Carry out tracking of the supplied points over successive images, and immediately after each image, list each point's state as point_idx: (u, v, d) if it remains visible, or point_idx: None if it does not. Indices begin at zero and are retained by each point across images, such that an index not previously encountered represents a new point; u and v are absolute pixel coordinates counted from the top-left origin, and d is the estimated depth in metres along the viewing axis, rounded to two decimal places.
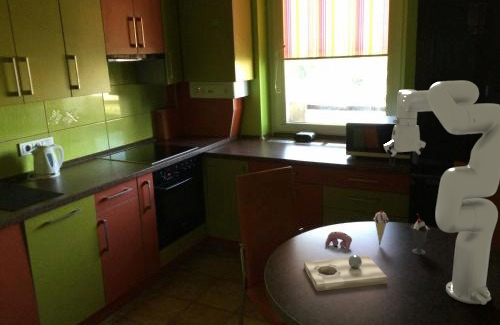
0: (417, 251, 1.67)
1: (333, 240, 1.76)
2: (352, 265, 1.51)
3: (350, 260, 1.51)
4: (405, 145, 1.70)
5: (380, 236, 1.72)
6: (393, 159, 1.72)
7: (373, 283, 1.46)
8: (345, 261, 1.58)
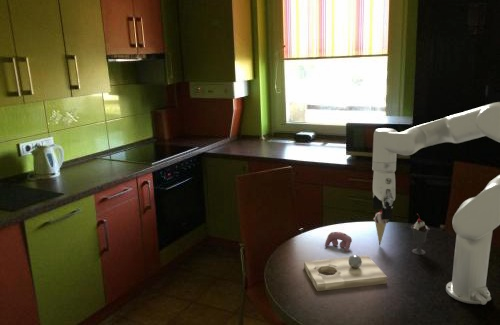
0: (417, 251, 1.67)
1: (333, 240, 1.76)
2: (352, 265, 1.51)
3: (350, 260, 1.51)
4: None
5: (380, 236, 1.72)
6: (390, 211, 1.45)
7: (373, 283, 1.46)
8: (345, 261, 1.58)
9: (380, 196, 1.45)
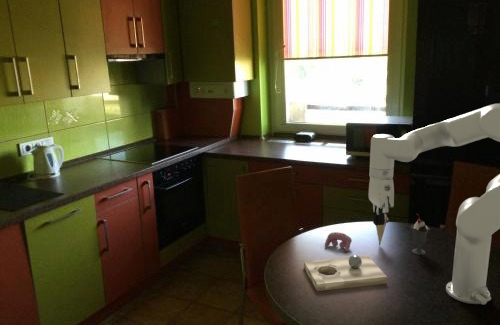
0: (417, 251, 1.67)
1: (333, 241, 1.75)
2: (352, 265, 1.51)
3: (350, 260, 1.51)
4: None
5: (380, 236, 1.72)
6: (383, 217, 1.47)
7: (373, 283, 1.46)
8: (345, 261, 1.58)
9: (379, 203, 1.42)
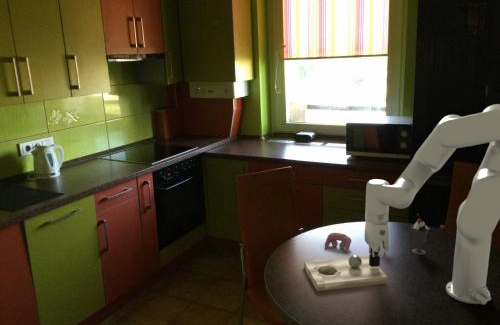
0: (417, 251, 1.67)
1: (332, 241, 1.75)
2: (352, 265, 1.51)
3: (350, 260, 1.51)
4: None
5: None
6: (378, 259, 1.51)
7: (373, 283, 1.46)
8: (345, 261, 1.58)
9: (374, 247, 1.46)
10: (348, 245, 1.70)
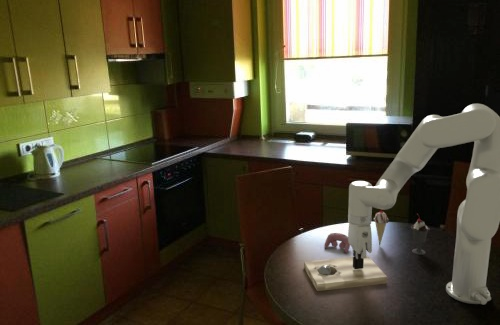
0: (417, 251, 1.67)
1: (332, 241, 1.75)
2: None
3: (328, 272, 1.49)
4: None
5: (380, 236, 1.72)
6: (362, 261, 1.50)
7: (373, 283, 1.46)
8: (345, 261, 1.58)
9: (357, 249, 1.45)
10: (348, 245, 1.70)
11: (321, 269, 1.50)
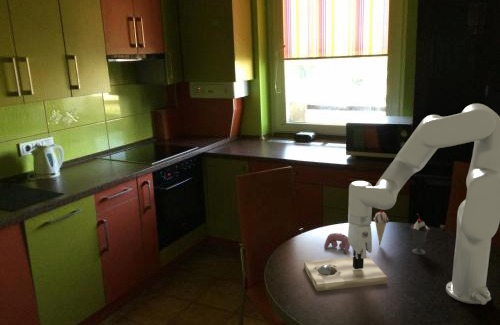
0: (417, 251, 1.67)
1: (332, 242, 1.75)
2: None
3: (329, 272, 1.49)
4: None
5: (380, 236, 1.72)
6: (362, 261, 1.50)
7: (373, 283, 1.46)
8: (345, 261, 1.58)
9: (357, 249, 1.45)
10: (348, 246, 1.70)
11: (321, 269, 1.50)
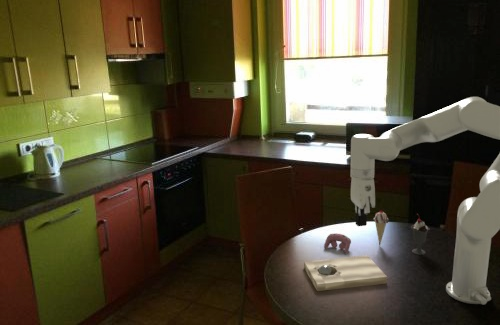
0: (417, 251, 1.67)
1: (332, 242, 1.74)
2: None
3: (329, 272, 1.50)
4: None
5: (380, 236, 1.72)
6: (365, 217, 1.46)
7: (373, 283, 1.46)
8: (345, 261, 1.58)
9: (360, 204, 1.41)
10: (348, 246, 1.69)
11: (321, 268, 1.50)
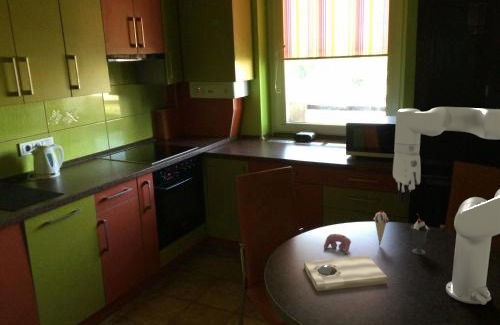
0: (417, 251, 1.67)
1: (332, 242, 1.74)
2: None
3: (329, 272, 1.50)
4: None
5: (380, 236, 1.72)
6: None
7: (373, 283, 1.46)
8: (345, 261, 1.58)
9: (405, 180, 1.38)
10: (348, 246, 1.69)
11: (322, 268, 1.50)
